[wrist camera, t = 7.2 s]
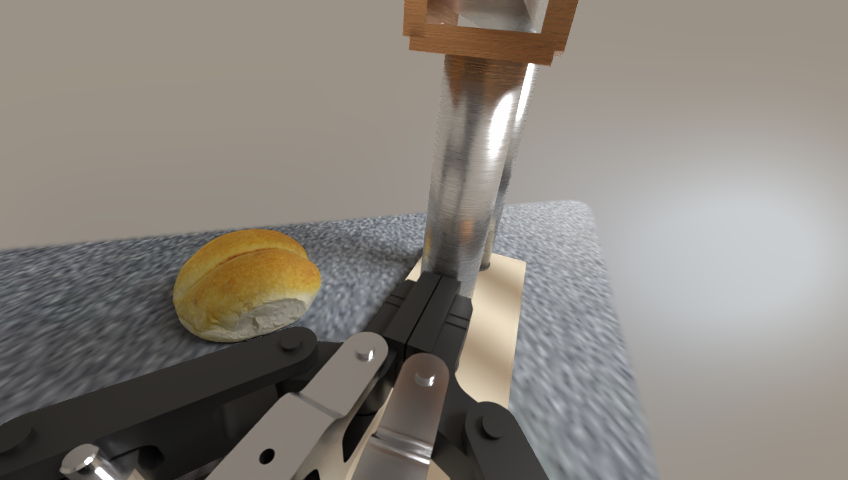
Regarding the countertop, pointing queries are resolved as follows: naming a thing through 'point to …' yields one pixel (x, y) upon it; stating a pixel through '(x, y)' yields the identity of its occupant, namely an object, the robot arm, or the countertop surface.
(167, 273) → the countertop surface
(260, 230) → the bread roll
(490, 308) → the plate
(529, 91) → the metal gantry frame
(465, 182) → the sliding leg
